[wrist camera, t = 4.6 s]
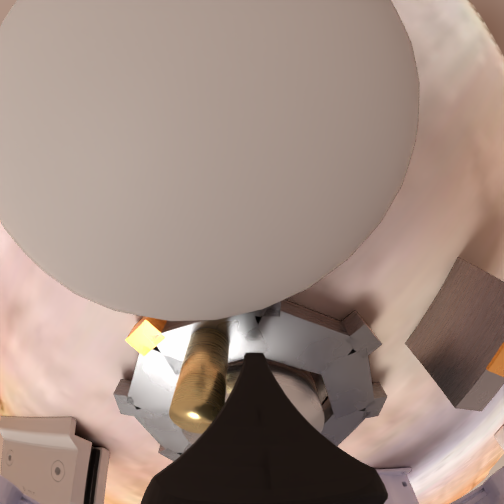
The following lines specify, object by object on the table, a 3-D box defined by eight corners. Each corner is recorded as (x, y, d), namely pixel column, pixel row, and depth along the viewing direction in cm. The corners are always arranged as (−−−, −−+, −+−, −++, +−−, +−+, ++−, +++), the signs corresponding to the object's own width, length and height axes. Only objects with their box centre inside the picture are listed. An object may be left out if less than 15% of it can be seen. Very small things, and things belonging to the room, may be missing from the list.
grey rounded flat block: (74, 416, 16) (67, 525, 8) (113, 437, 19) (113, 533, 11) (-1, 415, 18) (-12, 484, 9) (28, 433, 20) (21, 499, 12)
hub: (339, 373, 15) (353, 405, 12) (275, 443, 17) (279, 473, 14) (217, 328, 14) (211, 363, 11) (172, 413, 15) (164, 445, 13)
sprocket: (351, 235, 12) (421, 284, 7) (383, 425, 16) (408, 482, 11) (79, 330, 13) (26, 393, 8) (197, 472, 18) (190, 528, 12)
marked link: (482, 279, 14) (545, 319, 8) (435, 355, 15) (482, 412, 9) (457, 256, 13) (531, 298, 7) (404, 342, 14) (456, 409, 9)
